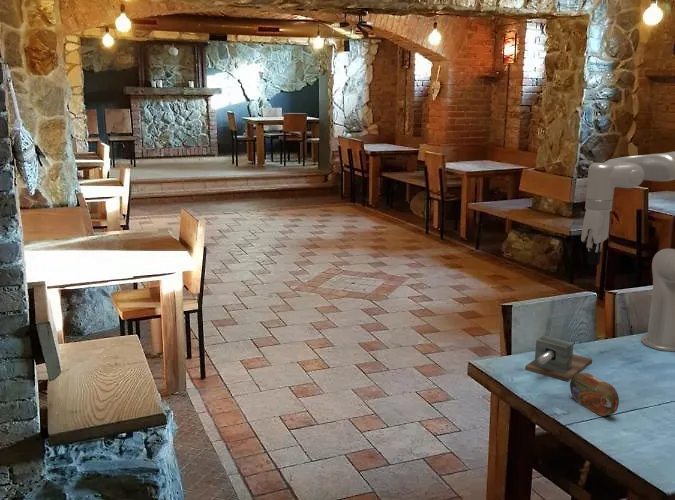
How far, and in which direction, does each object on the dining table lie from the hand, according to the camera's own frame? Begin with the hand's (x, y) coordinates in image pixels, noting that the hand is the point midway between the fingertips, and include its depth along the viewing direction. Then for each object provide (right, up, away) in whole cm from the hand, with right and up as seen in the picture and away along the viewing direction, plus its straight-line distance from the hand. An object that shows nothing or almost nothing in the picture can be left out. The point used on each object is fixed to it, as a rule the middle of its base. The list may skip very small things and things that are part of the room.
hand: (593, 264), depth 206 cm
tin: (-11, -37, -29) cm, 48 cm away
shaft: (-16, -28, -8) cm, 33 cm away
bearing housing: (-11, -30, -2) cm, 32 cm away
